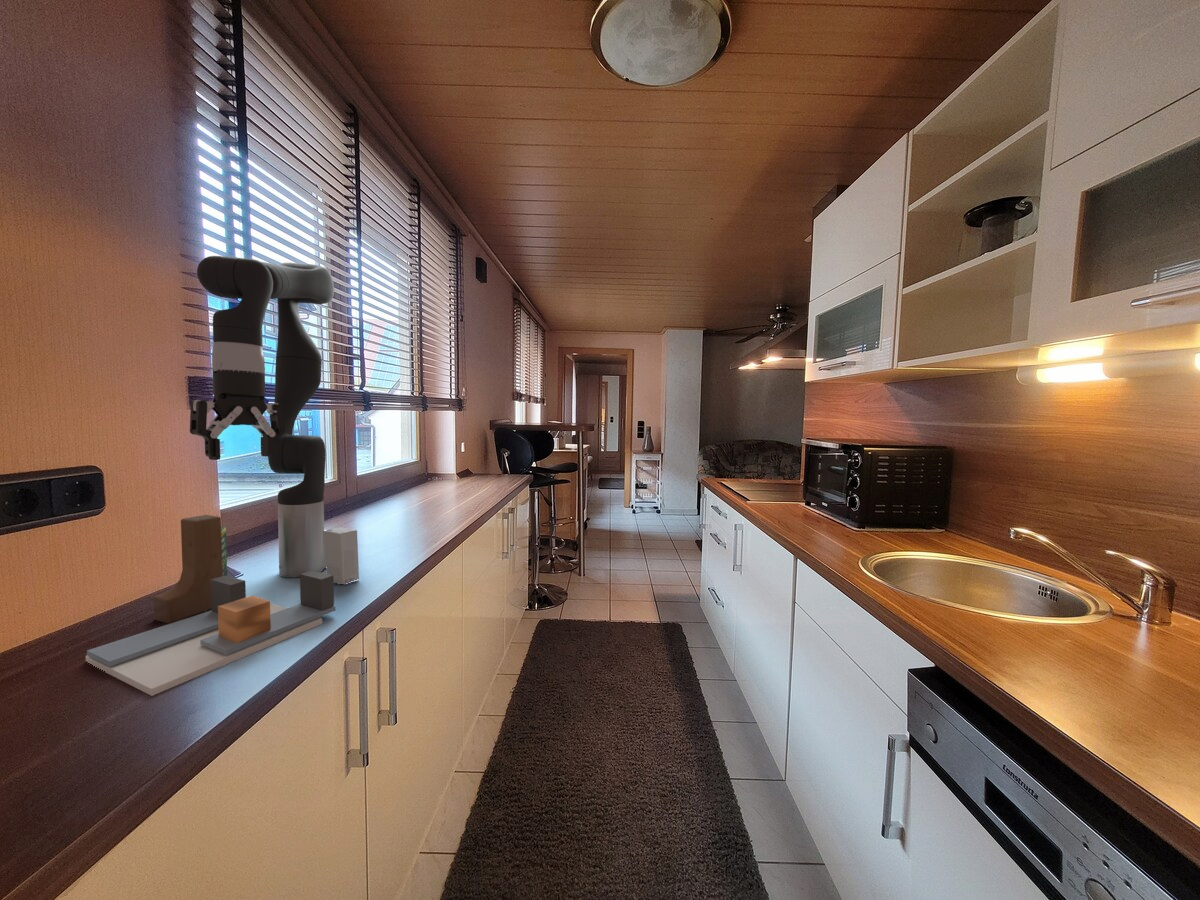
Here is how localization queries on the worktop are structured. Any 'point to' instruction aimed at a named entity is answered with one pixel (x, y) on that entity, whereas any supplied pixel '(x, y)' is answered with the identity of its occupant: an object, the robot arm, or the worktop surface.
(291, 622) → the strip with cube
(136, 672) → the lane board
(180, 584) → the wooden block
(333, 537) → the skincare box
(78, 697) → the worktop surface
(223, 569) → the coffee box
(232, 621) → the cube
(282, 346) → the robot arm
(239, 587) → the strip empty
